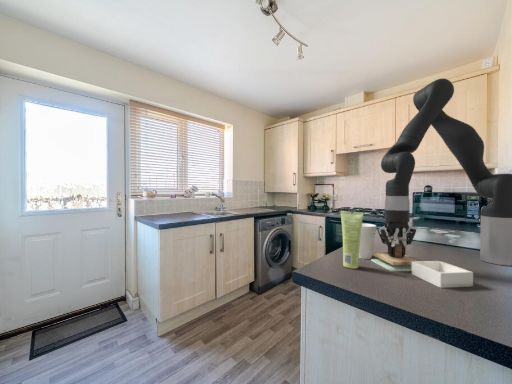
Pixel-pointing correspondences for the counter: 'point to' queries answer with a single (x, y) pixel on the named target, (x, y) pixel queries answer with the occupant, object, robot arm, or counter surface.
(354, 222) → the tube
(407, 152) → the robot arm
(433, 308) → the counter surface
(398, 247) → the lid
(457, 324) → the counter surface
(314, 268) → the counter surface
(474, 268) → the counter surface
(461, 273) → the dish
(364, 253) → the foam cup
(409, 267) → the mat
